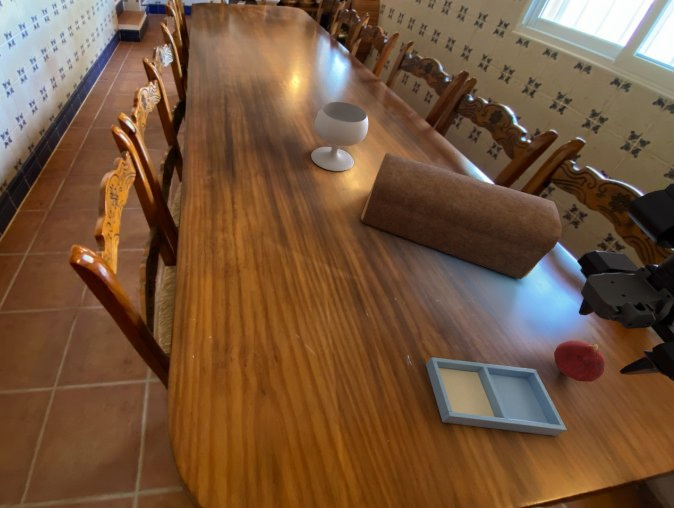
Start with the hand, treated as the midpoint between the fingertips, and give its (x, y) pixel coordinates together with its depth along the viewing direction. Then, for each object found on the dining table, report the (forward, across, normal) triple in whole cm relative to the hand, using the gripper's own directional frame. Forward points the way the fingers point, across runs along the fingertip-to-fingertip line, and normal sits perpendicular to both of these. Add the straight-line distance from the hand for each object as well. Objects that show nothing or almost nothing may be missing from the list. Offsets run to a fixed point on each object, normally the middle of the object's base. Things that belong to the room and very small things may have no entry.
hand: (601, 341), depth 53 cm
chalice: (+9, -56, -33) cm, 66 cm away
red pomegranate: (+9, 0, 0) cm, 9 cm away
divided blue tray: (+9, +6, -15) cm, 19 cm away
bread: (+9, -30, -11) cm, 33 cm away
